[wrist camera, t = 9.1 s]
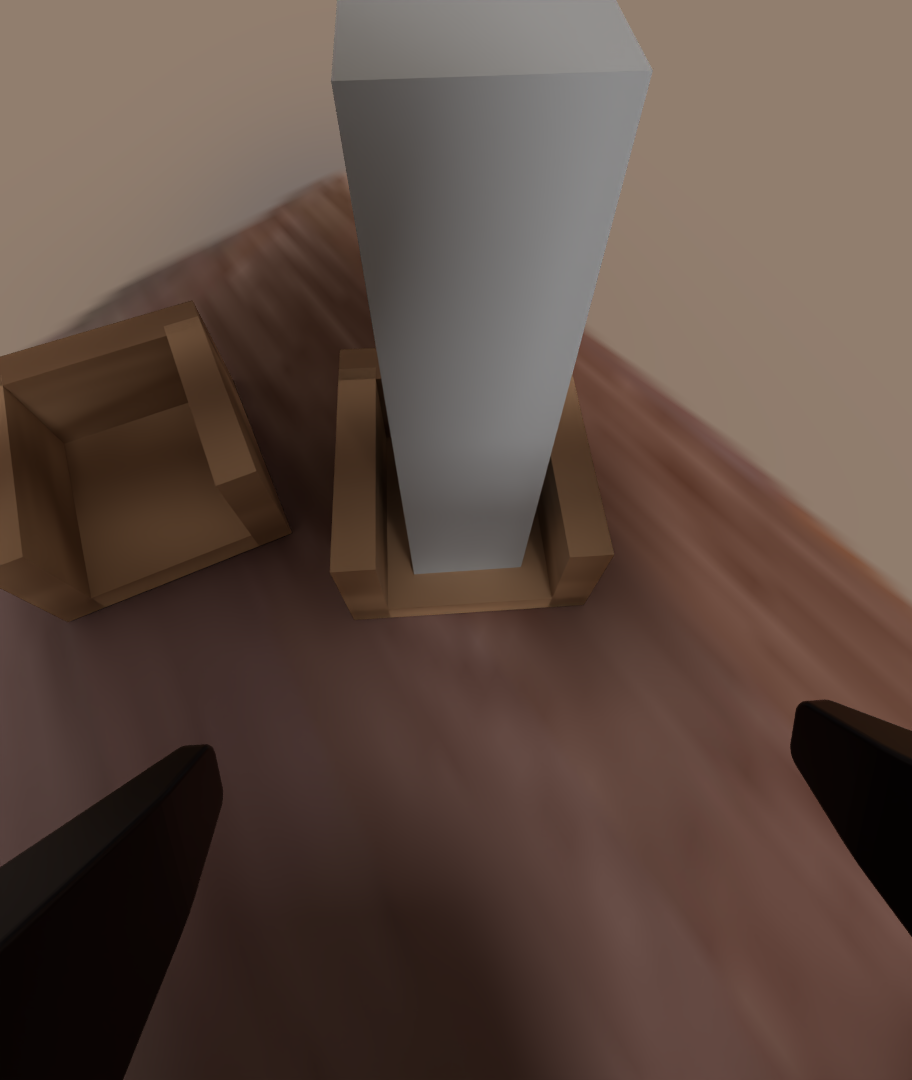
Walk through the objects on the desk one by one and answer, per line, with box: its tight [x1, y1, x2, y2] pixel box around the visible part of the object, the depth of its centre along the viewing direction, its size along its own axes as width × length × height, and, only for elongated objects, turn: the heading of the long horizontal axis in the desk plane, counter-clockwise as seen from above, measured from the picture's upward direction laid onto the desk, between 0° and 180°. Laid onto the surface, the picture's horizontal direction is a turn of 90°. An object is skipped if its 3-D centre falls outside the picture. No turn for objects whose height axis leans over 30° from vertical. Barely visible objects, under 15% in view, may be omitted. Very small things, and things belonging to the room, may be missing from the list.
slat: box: [331, 0, 653, 574], centre depth 13 cm, size 4×4×13 cm
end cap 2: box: [330, 348, 614, 620], centre depth 18 cm, size 8×8×4 cm
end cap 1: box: [0, 301, 292, 622], centre depth 18 cm, size 8×8×4 cm
